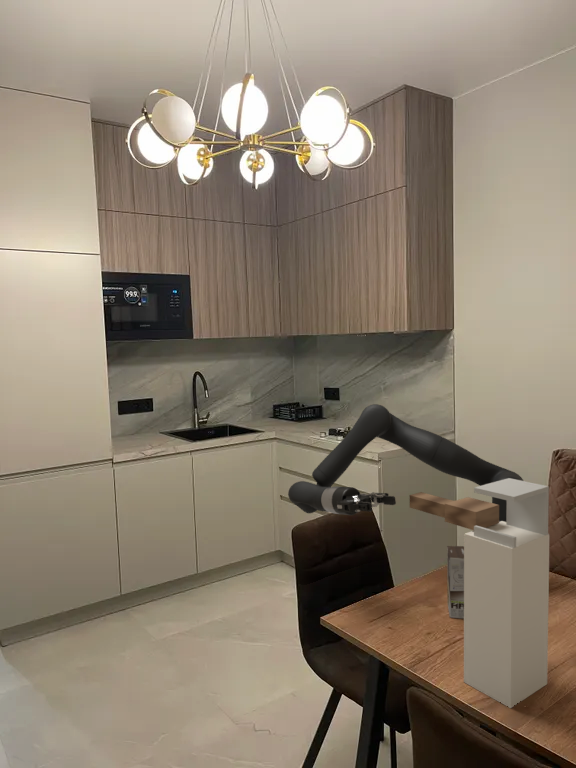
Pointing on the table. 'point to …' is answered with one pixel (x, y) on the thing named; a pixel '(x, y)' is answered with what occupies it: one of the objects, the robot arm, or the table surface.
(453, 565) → the coffee box
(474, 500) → the wooden plank block
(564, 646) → the table surface
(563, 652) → the table surface
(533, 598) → the stand
